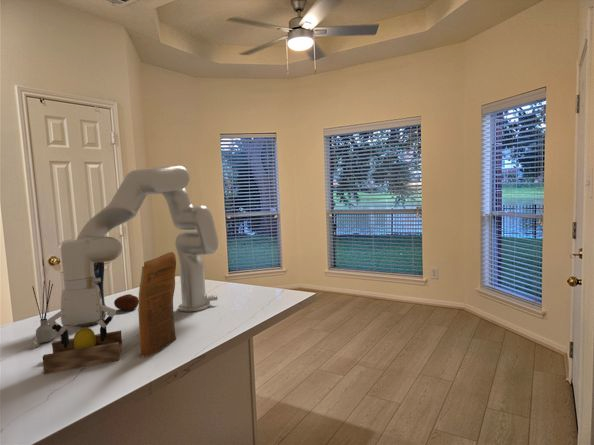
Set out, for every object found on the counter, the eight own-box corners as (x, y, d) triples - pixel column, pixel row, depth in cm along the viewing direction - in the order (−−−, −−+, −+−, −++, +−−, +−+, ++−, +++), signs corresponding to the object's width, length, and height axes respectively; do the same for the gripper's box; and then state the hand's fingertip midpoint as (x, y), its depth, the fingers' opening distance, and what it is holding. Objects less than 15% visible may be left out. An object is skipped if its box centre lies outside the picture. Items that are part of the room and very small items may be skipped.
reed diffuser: (47, 336, 123) (41, 278, 121) (67, 336, 123) (62, 278, 121) (25, 349, 112) (18, 286, 111) (47, 348, 113) (41, 285, 111)
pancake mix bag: (188, 334, 119) (182, 250, 117) (150, 361, 101) (143, 261, 99) (170, 333, 121) (164, 250, 119) (130, 359, 103) (122, 261, 101)
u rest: (122, 345, 113) (121, 330, 113) (119, 360, 102) (118, 343, 102) (54, 356, 106) (53, 341, 106) (44, 374, 96) (42, 357, 95)
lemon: (100, 352, 104) (97, 326, 104) (78, 360, 100) (75, 332, 100) (93, 347, 108) (90, 322, 107) (72, 355, 104) (69, 328, 103)
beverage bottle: (97, 328, 129) (91, 259, 127) (66, 326, 132) (60, 259, 130) (117, 318, 139) (112, 254, 137) (88, 317, 142) (83, 254, 140)
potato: (131, 312, 145) (129, 297, 145) (111, 312, 147) (109, 296, 147) (142, 307, 152) (140, 292, 152) (122, 306, 154) (121, 292, 154)
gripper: (115, 277, 109) (119, 333, 111) (47, 284, 103) (52, 343, 104) (112, 282, 102) (117, 341, 104) (39, 291, 96) (45, 354, 97)
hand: (85, 342), depth 104 cm, fingers open, 8 cm apart
